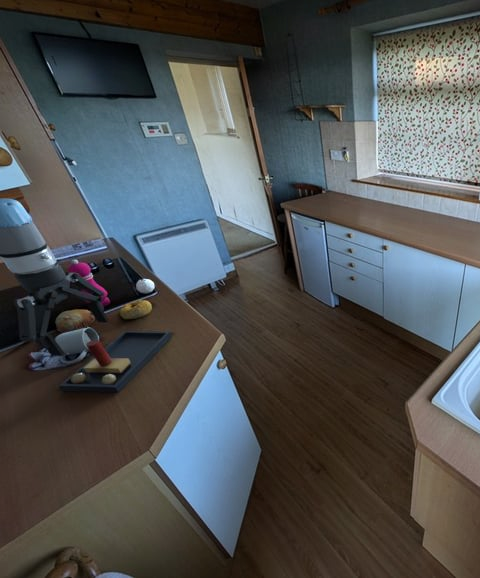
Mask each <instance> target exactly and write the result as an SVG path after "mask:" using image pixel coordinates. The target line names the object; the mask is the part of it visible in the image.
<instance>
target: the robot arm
mask: <svg viewBox="0 0 480 578" xmlns="http://www.w3.org/2000/svg"><path fill="white" fill-rule="evenodd" d="M0 259H1V260H2V261H3V263H4V264H5V266H6V267H7V269H8V270H9V272H11V273H13V276H14V278H15V279H16V280H17V282H18V284H19V285H20V286H21V287H22V288H23V289H24V290H25V291H26V292H27V296H25V297H22V298H15V299H13V301H12V302H13V304H14V306H15V308H16V309H17V320H18V321H17V323H18V335H19V340H20V341H21V342H36V344H37V345H38V346H39V348H40V349H45V350H47V352H48V353H49V354H50V356H53V357H60V356H63V355H64V354H65V353H64V352H63V350H62V349H61V348H60V346H59V345H58V343H57V342H56V341H55V337H53V335H52V334H51V333H47V332H48V327H49V322H50V317H51V311H53V310H54V308H55V305H57V304H59V303H60V302H62V301H63V300H66V299H68V298H69V297H73V298H77V299H80V300H83V301H84V300H87V301H90V302H86V305H87V307H88V309H89V311H91V312H92V314H93V315H94V317H95V320H96V322H97V323H109V321H110V320H109V318H108V316H107V315H106V313H105V312H104V310H105V306H104V307H103V305H102V304H101V302H102V301H103V298H101V296H104V295H105V294H104V292H102V291H101V290H99V289H98V288H96V287H95V286H93V285H92V284H90V283H88V282H87V281H85V280H84V279H83V278H82V277H81V275H80V274H79V273H69V272H65V271H64V269H63V268H62V266H61V265H60V263H57V261H58V260H57V259H56V256H55V255H54V253H53V251H52V250H51V249H50V247H49V245H48V243H46V241H45V239H44V237H43V235H42V234H41V233H40V230H39V228H37V225H36V224H35V223H34V220H33V217H32V216H31V215H30V213H29V212H27V210H26V209H25V208H24V205H22V204H21V202H19V200H16V199H13V198H0ZM71 283H72V284H73V285H75V286H77V287H78V288H80V289H81V290H82V289H83V290H85V291H86V292H88V293H90V294H91V295H90V294H86V293H83V292H82V291H81V290H78V289H75V288H71V287H70V286H71ZM68 296H69V297H68Z"/></svg>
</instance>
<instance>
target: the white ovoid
mask: <svg viewBox="0 0 480 578" xmlns="http://www.w3.org/2000/svg"><path fill="white" fill-rule="evenodd" d="M137 279H138V281H137V282H136V284H135V287H136V290H137V291H138V292H139V293H141V294H149V293H152V292H153V291H154V289H155V287H156V286H155V283H154V281H152V280H151V279H147V278H140V277H137Z"/></svg>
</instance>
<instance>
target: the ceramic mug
mask: <svg viewBox="0 0 480 578" xmlns="http://www.w3.org/2000/svg"><path fill="white" fill-rule="evenodd" d="M54 339H55V341H56V342H57V343H58V345H59V346H60V348H61V349H62V350H63V352H64V353H65V354H64V355H63V356H59V359H60V361H61V362H62V363H63V364H66V365H73V364H77V363H79V362H81V361H83V360H84V358H85V357H86V355H87V353H89V352H90V351H89V349H88V348H87V346H86V344H87V343H88V342H90V341H92V340H99V341H100V339H99V335H98V333H97V332H96V330H95V329H94V328H92V327H90V326H88V327H87V328H83V329H79V330H75V331H71V332H66V333H60V334H58V335H57V336H55V337H54ZM67 353H69V354H67ZM90 353H91V352H90ZM77 354H79V356H78V357H77V358H75V359H73V360H66V356H72V355H77Z"/></svg>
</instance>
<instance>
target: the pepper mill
mask: <svg viewBox="0 0 480 578" xmlns="http://www.w3.org/2000/svg"><path fill="white" fill-rule="evenodd" d="M70 263H71V264H70V265H69V266H68V268H67V273H79V274H80V275H81V277H82V278H83V279H84V280H85V281H87V282H88V283H90V284H92V285H93V286H95V287H96V288H98V289H99V290H101V291H102V292H104V294H105V295H104V296H101V298H103V301H102V302H101V304H102V305H103V307H104V308H105V307H106V306H109V304H110V303H111V300H110V299H109V297H107V296H108V292H107V290H105V288H104V287H102V285H101V286H100V285H99V284H98V283H97V282H96V281H95V280H94V278H93V277H94V275H93V273H92V272H91V271H92V269H91V268H92V267H90V265H89V264H88V263H86V262H79V260H77V259H72V260H71V262H70ZM81 292H83V293H86V294H90V293H88V292H86V291H85V290H83V289H81ZM90 295H91V294H90ZM83 301H84V302H85V303H88V302H90V301H87V300H83Z"/></svg>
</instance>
